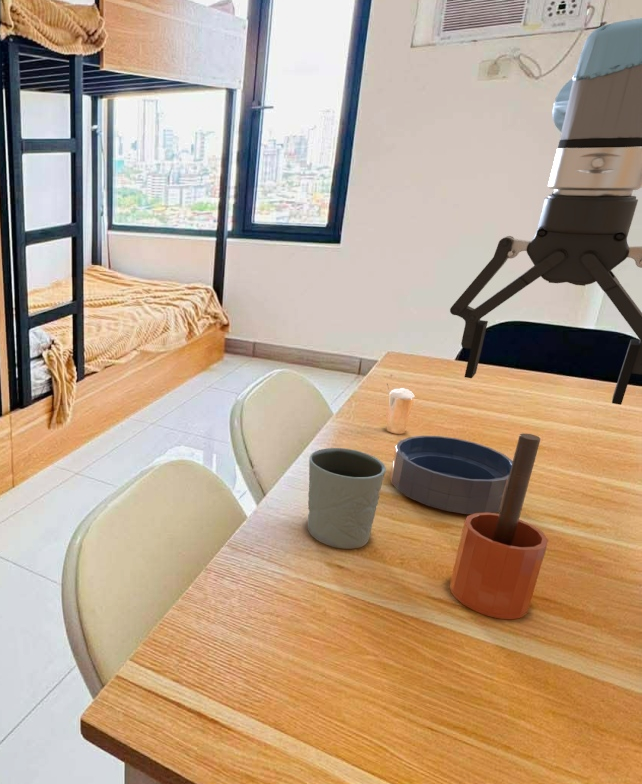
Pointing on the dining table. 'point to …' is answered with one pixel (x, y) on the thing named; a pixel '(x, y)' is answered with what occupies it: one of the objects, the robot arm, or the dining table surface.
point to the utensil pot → (497, 567)
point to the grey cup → (343, 496)
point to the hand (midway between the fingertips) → (539, 387)
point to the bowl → (451, 474)
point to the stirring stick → (516, 488)
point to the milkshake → (399, 409)
